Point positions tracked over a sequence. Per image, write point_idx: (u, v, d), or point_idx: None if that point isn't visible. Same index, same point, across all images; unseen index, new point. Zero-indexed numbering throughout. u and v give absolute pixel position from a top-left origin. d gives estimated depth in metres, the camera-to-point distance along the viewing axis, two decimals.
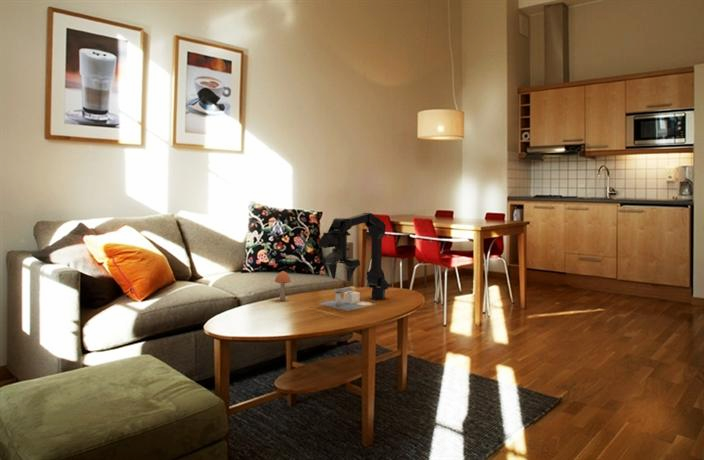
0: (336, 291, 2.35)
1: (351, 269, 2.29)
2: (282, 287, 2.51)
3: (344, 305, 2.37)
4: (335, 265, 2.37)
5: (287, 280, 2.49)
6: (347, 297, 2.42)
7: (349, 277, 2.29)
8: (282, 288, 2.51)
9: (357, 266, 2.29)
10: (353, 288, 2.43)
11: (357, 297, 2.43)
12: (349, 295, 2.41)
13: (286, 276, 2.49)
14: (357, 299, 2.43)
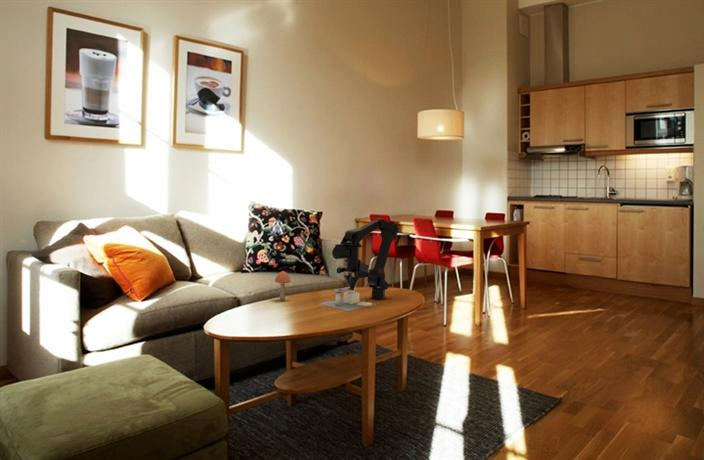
0: (336, 291, 2.35)
1: None
2: (282, 287, 2.51)
3: (344, 305, 2.37)
4: None
5: (287, 280, 2.49)
6: (347, 297, 2.42)
7: None
8: (282, 288, 2.51)
9: (344, 275, 2.42)
10: None
11: (357, 297, 2.43)
12: (349, 295, 2.41)
13: (286, 276, 2.49)
14: (357, 299, 2.43)
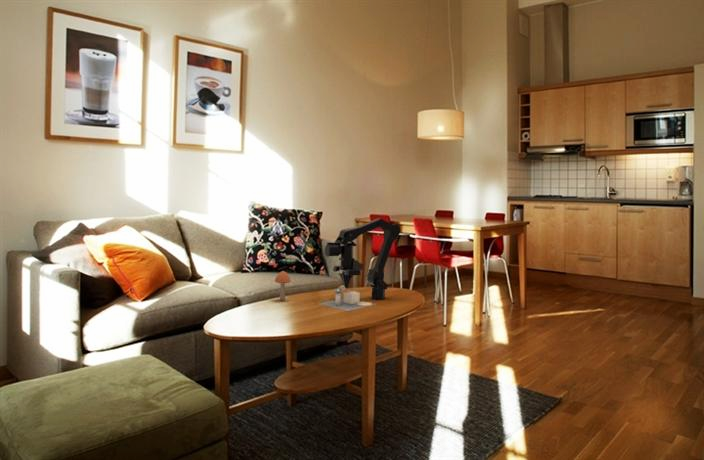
0: (338, 291, 2.35)
1: None
2: (282, 287, 2.51)
3: (344, 305, 2.37)
4: None
5: (287, 280, 2.49)
6: (347, 297, 2.42)
7: None
8: (282, 288, 2.51)
9: (339, 273, 2.46)
10: None
11: (357, 297, 2.43)
12: (349, 295, 2.41)
13: (286, 276, 2.49)
14: (357, 299, 2.43)
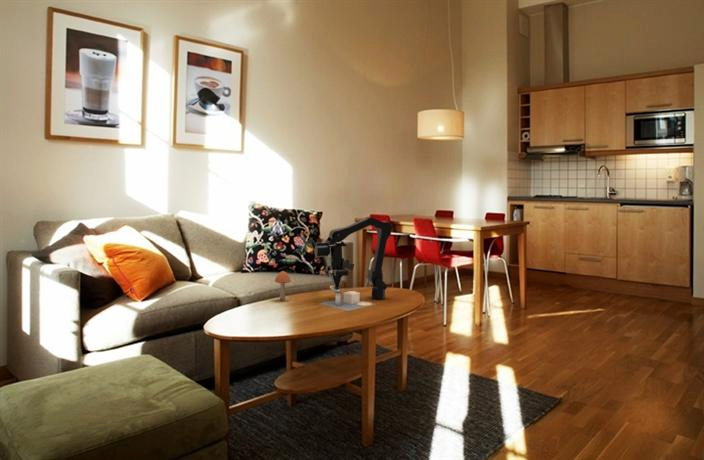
0: (340, 291, 2.36)
1: None
2: (282, 287, 2.51)
3: (344, 305, 2.37)
4: None
5: (287, 280, 2.49)
6: (347, 297, 2.42)
7: None
8: (282, 288, 2.51)
9: (330, 273, 2.48)
10: None
11: (357, 297, 2.43)
12: (349, 295, 2.41)
13: (286, 276, 2.49)
14: (357, 299, 2.43)
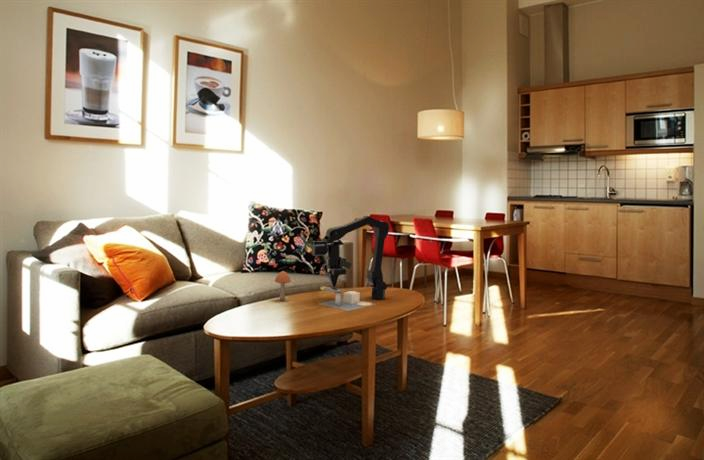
0: (341, 291, 2.36)
1: None
2: (282, 287, 2.51)
3: (344, 305, 2.37)
4: None
5: (287, 280, 2.49)
6: (347, 297, 2.42)
7: None
8: (282, 288, 2.51)
9: (327, 272, 2.46)
10: None
11: (357, 297, 2.43)
12: (349, 295, 2.41)
13: (286, 276, 2.49)
14: (357, 299, 2.43)
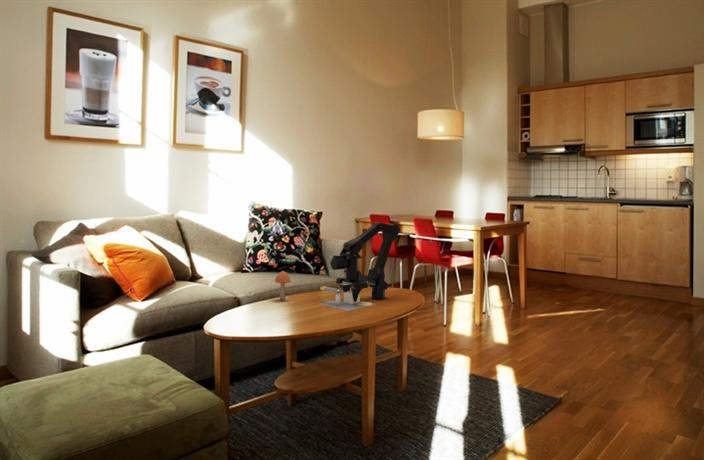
0: (341, 291, 2.36)
1: None
2: (282, 287, 2.51)
3: (344, 305, 2.37)
4: None
5: (287, 280, 2.49)
6: (347, 297, 2.42)
7: None
8: (282, 288, 2.51)
9: (340, 285, 2.47)
10: None
11: None
12: (349, 295, 2.41)
13: (286, 276, 2.49)
14: (357, 299, 2.43)
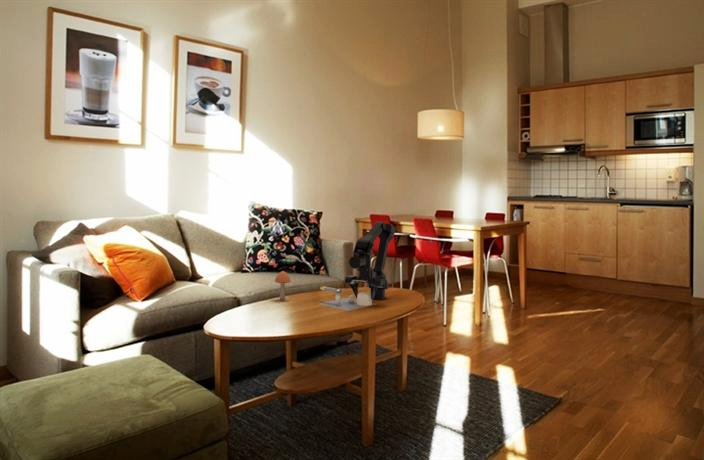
0: (341, 291, 2.36)
1: None
2: (282, 287, 2.51)
3: (344, 305, 2.37)
4: None
5: (287, 280, 2.49)
6: (362, 299, 2.36)
7: None
8: (282, 288, 2.51)
9: (348, 283, 2.40)
10: None
11: (370, 297, 2.39)
12: (365, 296, 2.36)
13: (286, 276, 2.49)
14: (370, 300, 2.39)
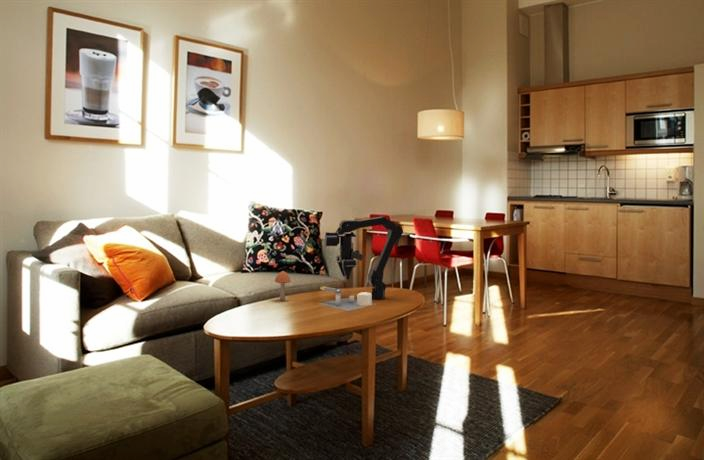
0: (341, 291, 2.36)
1: None
2: (282, 287, 2.51)
3: (344, 305, 2.37)
4: None
5: (287, 280, 2.49)
6: (362, 299, 2.36)
7: None
8: (282, 288, 2.51)
9: None
10: None
11: (370, 297, 2.39)
12: (365, 296, 2.36)
13: (286, 276, 2.49)
14: (370, 300, 2.39)
